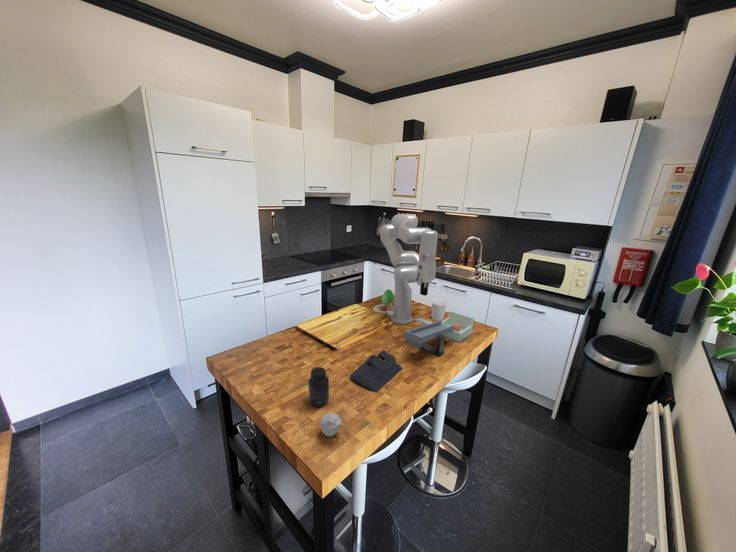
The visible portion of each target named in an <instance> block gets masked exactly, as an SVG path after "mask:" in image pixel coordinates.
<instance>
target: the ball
mask: <svg viewBox="0 0 736 552" xmlns="http://www.w3.org/2000/svg"><path fill="white" fill-rule="evenodd" d="M454 326H455V327H454V330H455V331H459V330H460V328H461V326H460V325H459V324H458V323H455V324H454Z"/></svg>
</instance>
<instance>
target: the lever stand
mask: <svg viewBox="0 0 736 552" xmlns="http://www.w3.org/2000/svg"><path fill="white" fill-rule="evenodd" d="M436 339H437V341H436V347H435V346H434V345H430V344H428V343H426V342H424V343H423V346H422V347H420V348H419V349H420V350H422V351H424V352H426V353H428V354H431V355H432V356H435V357H438V358H439V357H441V356H443V355H444V354H445V351H444V343H445V337H444V335H440V336H438V337H437V338H436Z"/></svg>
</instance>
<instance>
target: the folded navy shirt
mask: <svg viewBox="0 0 736 552" xmlns="http://www.w3.org/2000/svg"><path fill="white" fill-rule="evenodd" d="M402 370H403V366H402V365H401V364H398V363H397V359H396V357H395V356H394V355H392V354H390V353H388V351H386V350H382V351H380V352H379V353H378V354H377V355H375V354H372V355H370V356H369V357H368V358H367V359H366V360H365V361H364V362H363V363H362V364H361V365H359V366H358V367H357V368H356V369H355V370H354V371H353V372H351V374H350V379H351V380H353V381H355V382H357V383H358V384H360V385H361V386H362V387H363V388H366V389H368V390H369V391H371V392H376V393H377V392H379V391H380V390H381V389H382V388H383V387H385V386H386V384H388V383H389V382H390V381H391V380H392V379H394V377H396V375H398V373H400V372H401V371H402Z"/></svg>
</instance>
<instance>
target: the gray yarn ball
mask: <svg viewBox="0 0 736 552" xmlns="http://www.w3.org/2000/svg"><path fill="white" fill-rule="evenodd" d="M341 425H342V419H341V418H340V416H339V414H338V413H337V414H335V413H326V414H324V415H322V417H321V418H320V422H319V427H320V429H321V431H322V433H323V434H324V435H325V436H327V437H333V436H335V435H336V434H337V433H338V430H339V429H340V427H341Z"/></svg>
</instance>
